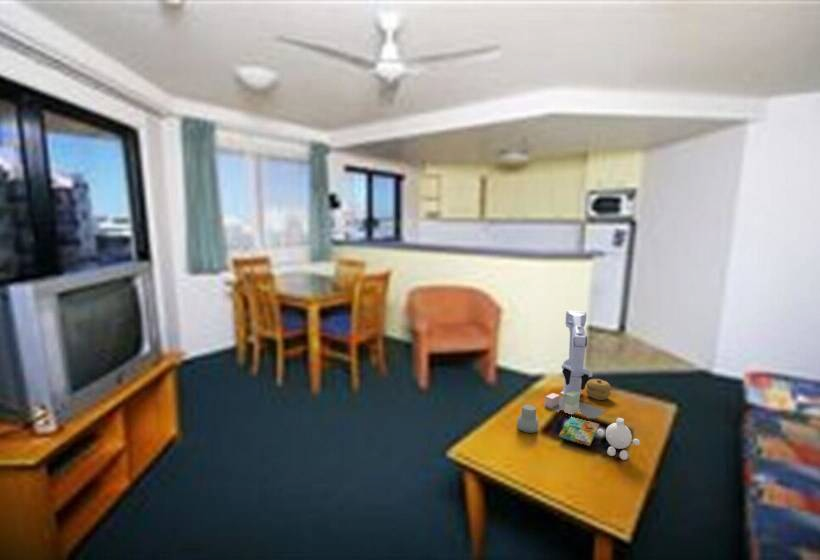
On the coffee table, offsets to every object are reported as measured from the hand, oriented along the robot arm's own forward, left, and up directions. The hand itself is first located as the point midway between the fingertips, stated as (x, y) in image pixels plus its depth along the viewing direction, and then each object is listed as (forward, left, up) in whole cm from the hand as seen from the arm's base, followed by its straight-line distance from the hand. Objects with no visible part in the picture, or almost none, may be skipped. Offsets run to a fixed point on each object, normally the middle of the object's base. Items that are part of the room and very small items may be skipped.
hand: (575, 386), depth 207 cm
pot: (-20, +3, -10) cm, 23 cm away
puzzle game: (+27, +16, -10) cm, 33 cm away
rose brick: (+8, -7, -10) cm, 14 cm away
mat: (+3, +2, -10) cm, 11 cm away
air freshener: (+39, -1, -10) cm, 40 cm away
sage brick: (+8, +3, -5) cm, 10 cm away
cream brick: (+8, +3, -10) cm, 13 cm away
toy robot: (+29, +32, -10) cm, 44 cm away
